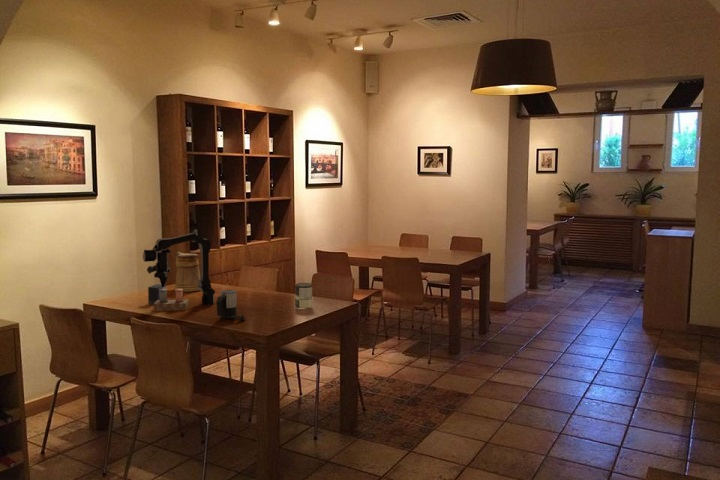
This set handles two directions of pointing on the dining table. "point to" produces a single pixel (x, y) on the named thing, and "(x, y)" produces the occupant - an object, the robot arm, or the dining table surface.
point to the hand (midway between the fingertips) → (163, 287)
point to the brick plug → (179, 295)
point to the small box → (154, 293)
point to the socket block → (170, 305)
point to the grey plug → (163, 295)
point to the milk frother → (227, 305)
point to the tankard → (187, 272)
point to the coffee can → (303, 295)
